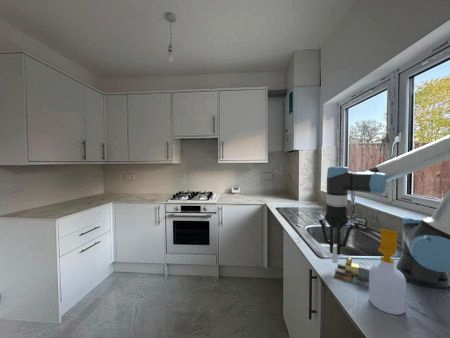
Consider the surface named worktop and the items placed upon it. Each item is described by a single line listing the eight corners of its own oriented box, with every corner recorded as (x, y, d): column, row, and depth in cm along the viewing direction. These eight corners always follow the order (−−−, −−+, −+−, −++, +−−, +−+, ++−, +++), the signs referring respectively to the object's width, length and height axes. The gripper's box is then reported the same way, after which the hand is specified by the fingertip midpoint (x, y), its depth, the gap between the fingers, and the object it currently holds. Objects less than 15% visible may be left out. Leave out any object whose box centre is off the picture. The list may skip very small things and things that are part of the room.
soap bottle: (366, 305, 66) (367, 228, 65) (372, 292, 73) (373, 222, 72) (403, 320, 60) (404, 235, 59) (406, 304, 66) (408, 228, 65)
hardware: (376, 275, 81) (376, 264, 80) (376, 284, 75) (376, 271, 75) (337, 266, 88) (337, 255, 88) (335, 272, 83) (335, 261, 83)
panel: (376, 277, 82) (376, 274, 82) (376, 289, 74) (376, 285, 74) (338, 267, 89) (338, 264, 89) (334, 277, 82) (334, 274, 82)
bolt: (366, 274, 81) (367, 260, 81) (366, 277, 79) (366, 264, 78) (346, 268, 85) (346, 256, 85) (345, 272, 83) (345, 259, 82)
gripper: (356, 205, 84) (354, 262, 85) (321, 201, 92) (320, 253, 93) (354, 208, 78) (352, 270, 79) (317, 204, 86) (316, 260, 87)
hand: (335, 261), depth 86 cm, fingers closed
